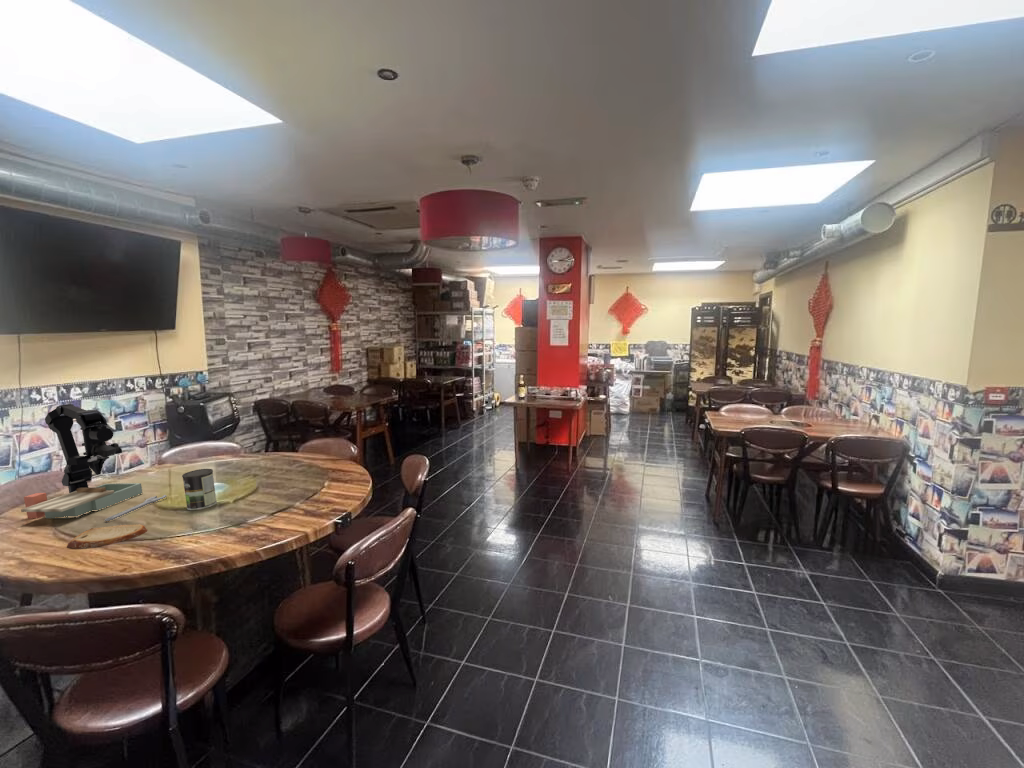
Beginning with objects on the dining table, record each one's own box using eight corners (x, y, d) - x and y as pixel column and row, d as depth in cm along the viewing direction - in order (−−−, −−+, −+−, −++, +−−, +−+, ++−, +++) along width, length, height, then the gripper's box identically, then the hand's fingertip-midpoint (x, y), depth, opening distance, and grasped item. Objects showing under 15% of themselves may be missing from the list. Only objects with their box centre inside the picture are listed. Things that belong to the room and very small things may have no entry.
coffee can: (190, 512, 175) (185, 478, 173) (184, 506, 182) (179, 473, 180) (220, 504, 182) (215, 471, 181) (213, 498, 190) (209, 467, 188)
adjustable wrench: (109, 523, 169) (108, 519, 169) (95, 523, 170) (94, 519, 170) (169, 498, 194) (169, 494, 194) (157, 498, 195) (156, 494, 195)
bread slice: (152, 531, 159) (150, 521, 159) (88, 555, 143) (86, 544, 143) (125, 524, 167) (124, 515, 167) (61, 546, 151) (60, 536, 150)
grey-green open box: (41, 518, 177) (39, 506, 177) (107, 494, 203) (105, 483, 202) (80, 518, 175) (78, 506, 174) (142, 493, 201) (140, 483, 200)
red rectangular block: (27, 518, 178) (23, 496, 177) (40, 513, 182) (36, 492, 181) (37, 518, 177) (33, 496, 176) (49, 513, 182) (45, 492, 181)
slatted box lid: (21, 511, 171) (20, 505, 170) (77, 492, 190) (76, 487, 190) (62, 511, 169) (60, 505, 168) (114, 492, 188) (113, 486, 188)
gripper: (85, 445, 181) (91, 482, 183) (130, 434, 200) (135, 468, 202) (62, 445, 183) (68, 481, 185) (108, 434, 201) (113, 467, 203)
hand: (98, 474), depth 194 cm, fingers closed
